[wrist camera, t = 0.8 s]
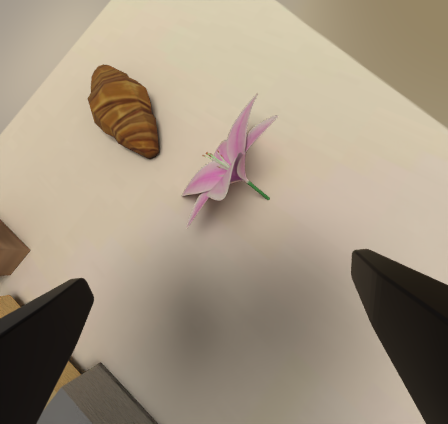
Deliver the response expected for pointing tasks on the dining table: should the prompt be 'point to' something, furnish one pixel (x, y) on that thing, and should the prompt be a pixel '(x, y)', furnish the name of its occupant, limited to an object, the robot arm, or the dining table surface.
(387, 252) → the dining table surface
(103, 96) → the croissant
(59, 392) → the sleeve
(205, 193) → the lily
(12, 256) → the socket
